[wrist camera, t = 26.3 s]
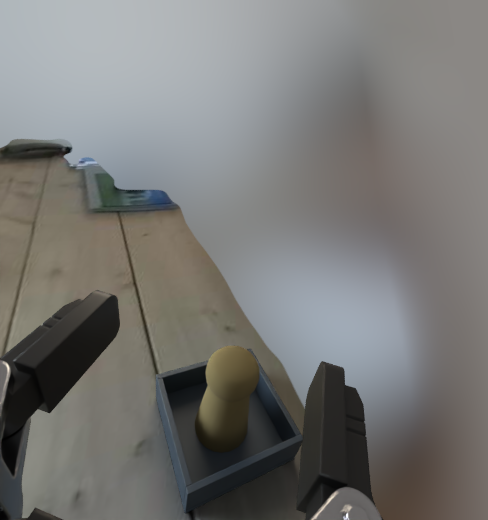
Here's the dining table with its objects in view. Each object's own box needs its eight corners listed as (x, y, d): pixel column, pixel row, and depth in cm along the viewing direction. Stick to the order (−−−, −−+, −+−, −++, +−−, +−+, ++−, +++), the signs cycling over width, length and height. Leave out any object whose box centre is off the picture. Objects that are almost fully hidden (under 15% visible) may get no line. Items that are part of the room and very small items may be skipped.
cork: (256, 442, 33) (278, 380, 27) (202, 461, 30) (213, 398, 25) (236, 393, 37) (252, 331, 31) (188, 406, 35) (195, 342, 29)
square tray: (293, 459, 33) (304, 439, 30) (184, 514, 27) (187, 494, 25) (245, 369, 42) (250, 348, 39) (155, 397, 36) (155, 374, 34)
